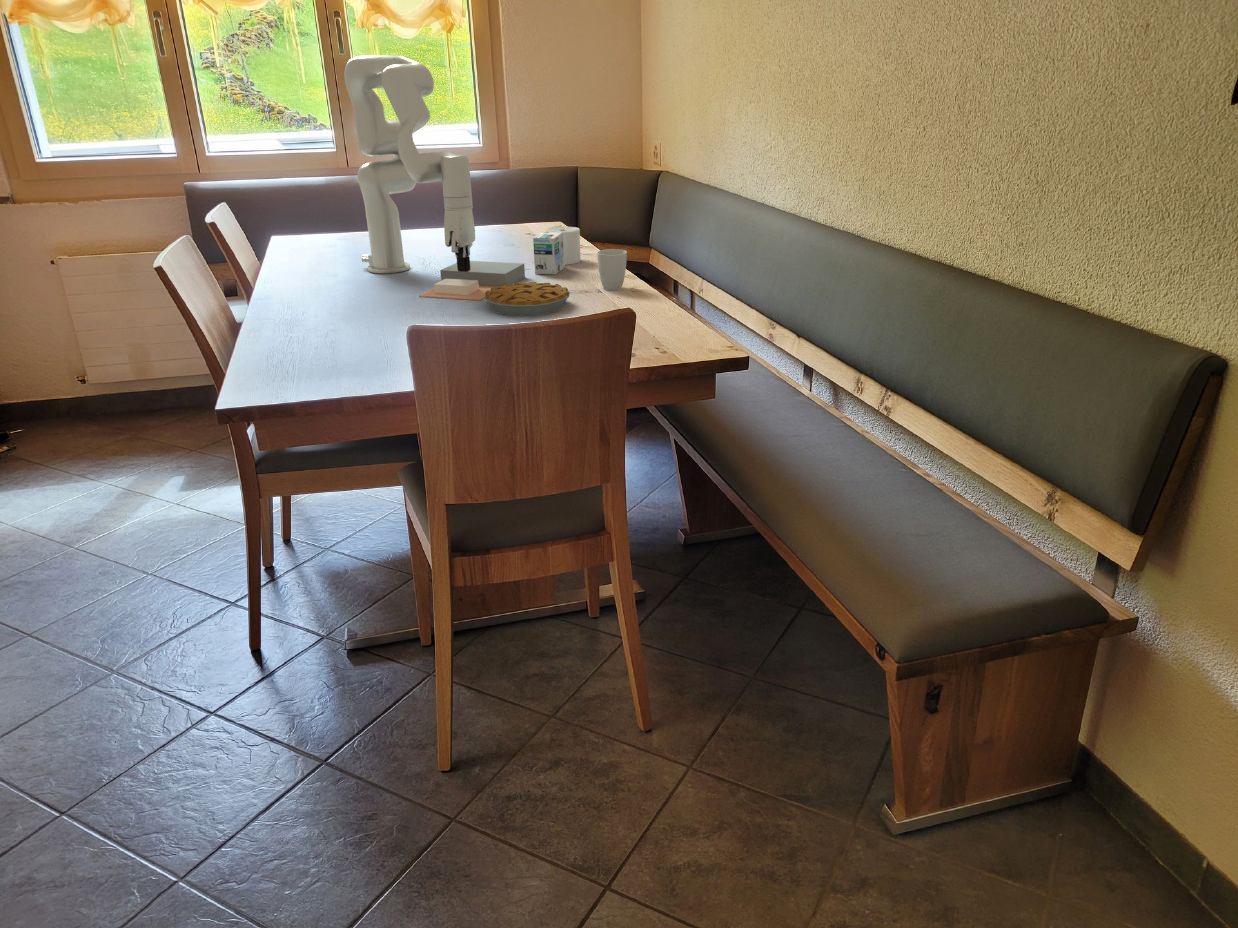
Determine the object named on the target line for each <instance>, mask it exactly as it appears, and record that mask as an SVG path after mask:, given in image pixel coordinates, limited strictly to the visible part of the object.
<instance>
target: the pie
mask: <svg viewBox="0 0 1238 928" xmlns="http://www.w3.org/2000/svg"><path fill="white" fill-rule="evenodd" d="M570 294H571V292H570V291H569V289H568V287H566V286H562V285H560V284H558V283H556V284H551V283H550V282H541V283H539V282H537V281H530V282H525V281H523V282H522V281H518V282H515V283H514V284H511V285H509V284H503V285H501V287H494V288H491V291H489V290H487V291H486V293H485V297H484V298H483V299H482V300H484V301H486V303H487V305H488V307H489V309H490V310H491V311H493V312H494V313H498V314H502V315H506V316H507V315H508V316H516V317H517V316H518V317H533V316H534V317H535V316H541V315H547V314H550V313H554V312H558V311H559V310H562V309H563V308H564V307H565V304H566V301H567V300H568V299H569V297H570Z"/></svg>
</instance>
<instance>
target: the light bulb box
mask: <svg viewBox="0 0 1238 928" xmlns="http://www.w3.org/2000/svg"><path fill="white" fill-rule="evenodd" d="M532 244H533V257H534V258H533V261H534V262H533V263H534V274H536V275H557V274H558V273H560V272H561V271H562V270H563V269H565V265H564V245H563V233H558V232H546V231H542V232H540V233H539V234H537V235H535V236H534V237H532Z"/></svg>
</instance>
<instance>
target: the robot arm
mask: <svg viewBox="0 0 1238 928" xmlns="http://www.w3.org/2000/svg"><path fill="white" fill-rule="evenodd" d="M344 67H345V68H344V73H343V74H344V75H343V76H344V83H345V87H346V91H347V93H348V96H349V98H350V102H351V105H352V111H353V118H354V126H355V131H356V138H357V142H358V143H357V144H358V148H359V150H360V152H361V153H362V154H363V155H364V156H367V157H383V156H391V157H392V159H387V160H385V159H383V160H375V161H369V162H366V163H364V164H362V165H361V166H360V167H359V168H358V171H357V182H358V185H359V188H360V192H361V195H362V200H363V204H364V209H365V217H366V223H367V231H368V238H369V239H368V240H369V247H370V254H362V257H361V262H362V263H368V264H369V265H368V266H367V271H368V272H370V273H373V274H395V273H401V272H405V271H407V270H410V268H411V266H410V265H411V264H410V263H408V262H407V261H406V262H405V257H404V249H403V240H402V230H401V221H400V213H399V209H398V206H397V204H396V203H395V202H394V200H393V199H392V197H391V196H390V195H393V194H399V193H401V194H402V193H406V192H410V191H412V190H414V188H415V187H416V184H417V183H418V184H427V183H428V184H429V183H437V182H441V184H442V192H443V193H442V194H443V205H444V215H443V216H444V217H443V221H444V222H443V228H444V243H445V244H444V245H445V246H446V247H447V248H450V247H451V252H452V253H454V254H455V255H454V256H455V258H456V263H457V269H458V271H462V272H468V271H470V270H471V269H470V261H471V259H470V256H471V248H472V246H473V243H475V241H476V229H475V220H474V213H473V208H474V206H473V196H472V183H471V180H472V179H471V171H470V170H471V169H470V168H471V167H470V160H469V157H468V156H467V155H466V154H463V153H462V154H461V153H453V152H450V151H434V152H423V153H420V152H419V151H418V148H417V147H416V145H415V142H414V138H413V134H415V132H417V131H419V130H421V129H422V128H424V127H425V126H426V125H427V123H429V121H430V118H431V112H430V111H429V110H430V109H429V108H428V107H427V104H426V102H425V99H424V98H425V97H426V98H427V97H429V96H430V95H431V94H432V93H433V91H434V87H435V82H434V78H433V75H432V73H431V71H430V70H429V68H428V67H427V66H426V65H424V64H423V63H420V62H418V61H416V60H413V59H410V58H408V57H405V56H403V55H395V54H393V55H392V54H384V55H383V54H382V55H381V54H378V55H377V54H369V55H368V54H365V55H363V54H362V55H358V56H357V55H356V56H355V57H352V58H350V59H349V60H348V61H347V63H346V65H345V66H344ZM374 89H383V90H384V92H385V94H386V97H387V99H388V101H389V103H390V104H391V106H392V109H393V111H394V114H395V115H396V117H397V119H391V120H388V119H386V117H385V109H384V104H383V102H382V100H381V98H380V96H378V94H377V93H376V92H375V91H374Z"/></svg>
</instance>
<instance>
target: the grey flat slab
mask: <svg viewBox="0 0 1238 928" xmlns="http://www.w3.org/2000/svg"><path fill="white" fill-rule="evenodd" d="M470 269H471V270H470V271H468V272H462V271H458V269H457V262H455V263H453V264H451V265H448V266H446V267H444V268H442V269H440V270H439V271H440V281H442V280H444V279H461V280H478V284H479V285H480V286H497V287H501V285H503V284H509V285H511V284H514V283H515V282H520V281H521V280H523V279H524V278H526V271H525V269H526V268H525V263H521V262H517V263H516V262H503V261H501V262H499V261H485V260H483V261H480V260H470Z"/></svg>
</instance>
